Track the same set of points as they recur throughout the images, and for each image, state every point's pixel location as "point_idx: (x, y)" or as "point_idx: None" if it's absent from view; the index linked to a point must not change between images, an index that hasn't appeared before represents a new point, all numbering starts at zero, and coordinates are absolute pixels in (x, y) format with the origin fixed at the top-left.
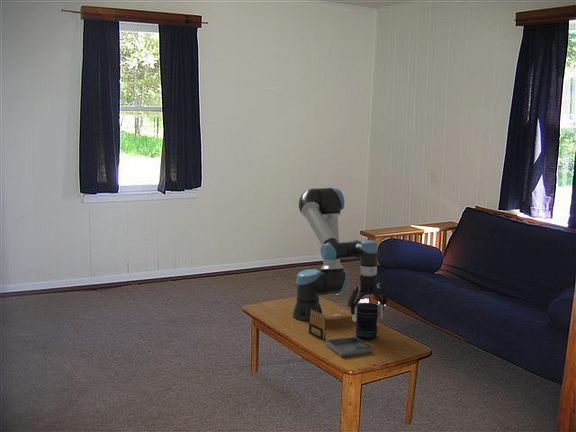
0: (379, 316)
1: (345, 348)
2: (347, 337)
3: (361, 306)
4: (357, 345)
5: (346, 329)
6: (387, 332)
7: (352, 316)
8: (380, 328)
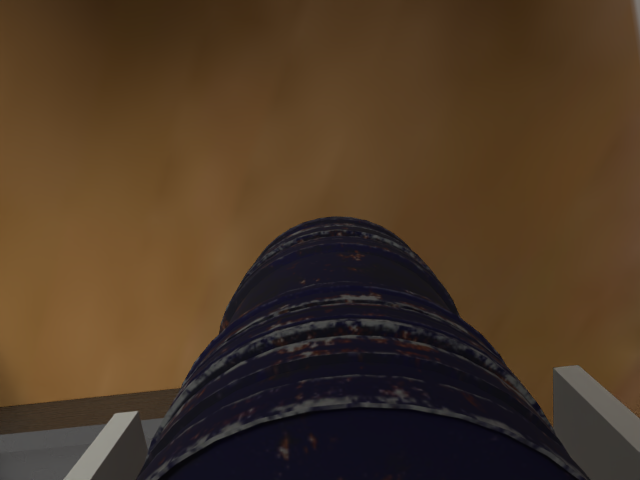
0: (564, 421)
1: None
2: (103, 427)
3: (312, 350)
4: None
5: (223, 58)
6: (589, 243)
7: (85, 462)
8: (588, 115)
